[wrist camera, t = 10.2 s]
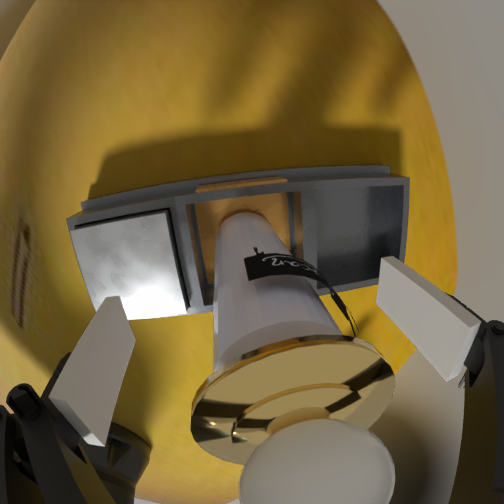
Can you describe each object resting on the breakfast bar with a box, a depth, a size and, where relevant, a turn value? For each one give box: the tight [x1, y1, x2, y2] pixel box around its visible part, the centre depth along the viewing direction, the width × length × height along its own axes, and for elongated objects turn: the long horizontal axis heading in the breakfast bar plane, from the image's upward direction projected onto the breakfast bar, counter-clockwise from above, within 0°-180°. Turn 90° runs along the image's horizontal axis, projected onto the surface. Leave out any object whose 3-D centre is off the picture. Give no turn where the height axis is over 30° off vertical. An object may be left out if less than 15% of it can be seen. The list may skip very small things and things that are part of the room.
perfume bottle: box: [191, 212, 395, 504], centre depth 12 cm, size 6×6×20 cm
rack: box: [66, 165, 410, 320], centre depth 20 cm, size 26×10×5 cm, turn 95°
